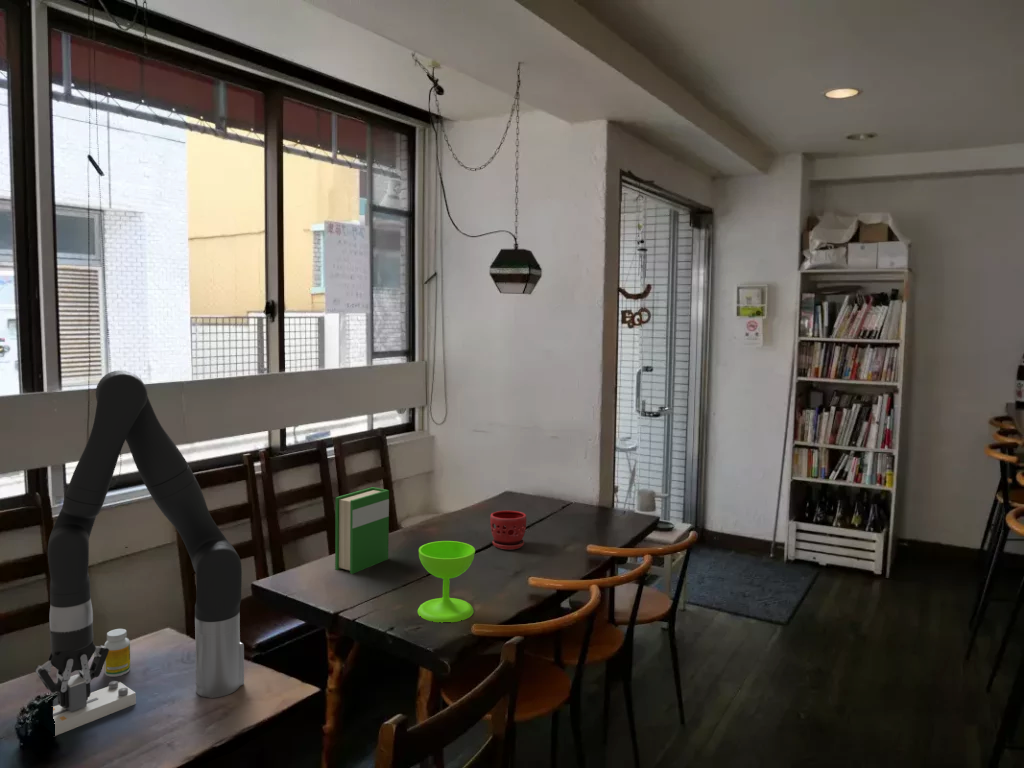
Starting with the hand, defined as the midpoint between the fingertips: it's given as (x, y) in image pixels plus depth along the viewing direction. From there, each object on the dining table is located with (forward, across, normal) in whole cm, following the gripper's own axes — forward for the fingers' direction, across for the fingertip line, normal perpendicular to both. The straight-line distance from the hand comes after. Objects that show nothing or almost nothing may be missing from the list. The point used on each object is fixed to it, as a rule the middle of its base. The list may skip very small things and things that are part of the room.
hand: (74, 703), depth 154 cm
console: (+3, -3, 0) cm, 4 cm away
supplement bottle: (+4, -15, -14) cm, 20 cm away
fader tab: (+1, 0, 0) cm, 1 cm away
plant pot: (+4, -149, -4) cm, 149 cm away
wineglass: (+4, -91, +20) cm, 93 cm away
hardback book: (+4, -101, -28) cm, 105 cm away
